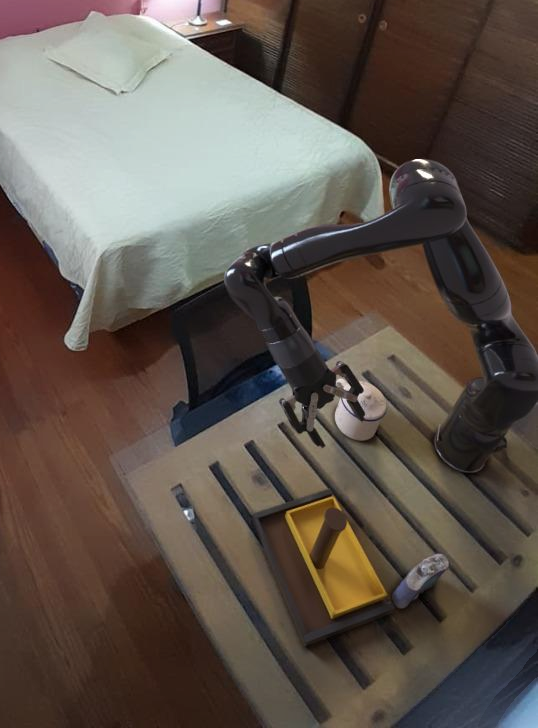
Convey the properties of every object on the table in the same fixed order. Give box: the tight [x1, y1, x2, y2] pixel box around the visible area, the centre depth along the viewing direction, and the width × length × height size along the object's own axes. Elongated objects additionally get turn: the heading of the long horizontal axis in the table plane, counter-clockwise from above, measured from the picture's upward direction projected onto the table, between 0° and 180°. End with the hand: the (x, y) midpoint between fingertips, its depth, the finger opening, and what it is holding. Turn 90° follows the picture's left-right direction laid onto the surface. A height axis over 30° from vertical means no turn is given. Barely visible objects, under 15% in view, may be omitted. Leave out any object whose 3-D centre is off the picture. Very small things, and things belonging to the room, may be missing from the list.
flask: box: [391, 553, 451, 610], centre depth 91 cm, size 9×3×11 cm, turn 117°
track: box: [251, 488, 396, 647], centre depth 97 cm, size 16×20×2 cm
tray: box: [285, 495, 388, 619], centre depth 92 cm, size 10×16×18 cm, turn 15°
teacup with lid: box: [334, 378, 388, 442], centre depth 116 cm, size 12×9×12 cm
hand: (341, 432), depth 96 cm, fingers open, 8 cm apart
